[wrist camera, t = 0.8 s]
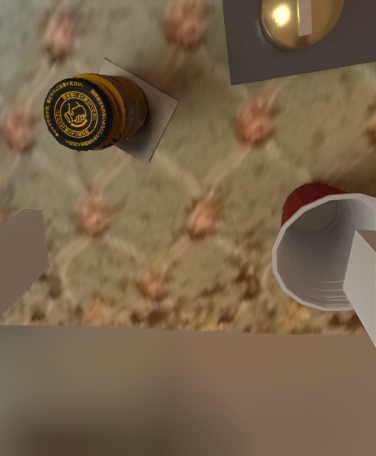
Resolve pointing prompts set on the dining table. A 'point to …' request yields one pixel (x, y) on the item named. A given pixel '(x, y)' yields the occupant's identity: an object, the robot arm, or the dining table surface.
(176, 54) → the dining table surface
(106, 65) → the condiment
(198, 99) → the dining table surface
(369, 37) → the levelling plate
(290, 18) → the knob
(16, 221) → the robot arm
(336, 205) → the plastic cup
